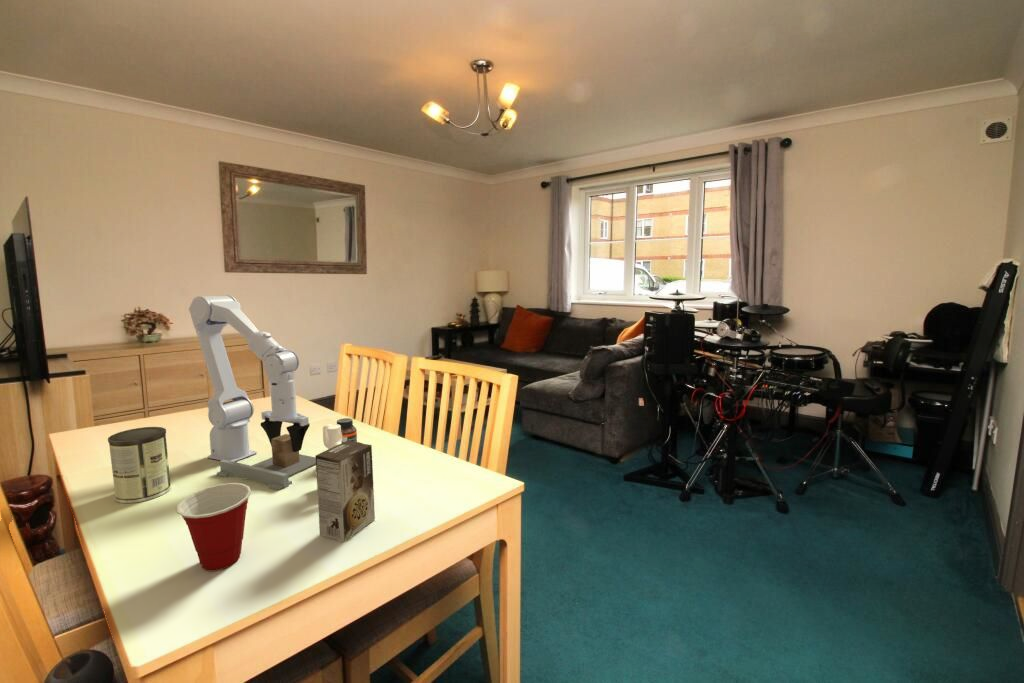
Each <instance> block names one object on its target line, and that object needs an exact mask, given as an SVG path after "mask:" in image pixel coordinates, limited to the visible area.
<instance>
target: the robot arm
mask: <svg viewBox="0 0 1024 683" xmlns="http://www.w3.org/2000/svg"><path fill="white" fill-rule="evenodd" d="M188 311H189V314H190V317H191V320H192V321H191V322H192V324H193V328H194V330H195V333H196V336H197V340H198V343H199V345H200V346H199V347H200V349H201V352H202V356H203V359H204V362H205V365H206V369H207V372H208V376H209V379H210V382H211V386H212V389H213V395H212V396H211V397H210V399H208V401H207V402H206V404H207V407H208V409H207V410H208V411H207V412H208V413H207V415H208V420H209V423H210V424H211V425H212V427H211V429H210V432H209V445H210V448H209V449H210V455H208V456H207V458H208V459H213V460H217V461H222V460H228V461H232V462H237V461H240V460H243V459H246V458H247V457H251V456H254V455H256V454H258V451H256V450H251V449H250V440H249V438H250V436H249V425H248V423H250V422H251V421H250V419H251V418H252V417H253V415H254V413H255V408H254V405H253V403H252V401H251V399H249V396H248V394H247V391H245V390H243V389H241V388H239V387H238V386H237V383H236V380H235V376H234V373H233V369H232V367H231V366H232V365H231V362H230V360H229V357H228V356H229V355H228V354H227V350H226V345H225V343H224V340H223V337H222V331H223V329H224V328H225V327H226V326H228V325H230V326H231V328H233V329H234V330H235V331H237V332H238V333H239V334H240V335H241V336H243V337H244V338H245V339H246V340H247V348H249V350H251V352H253V354H255V355H256V356H257V357H258V359H260V360H261V361H262V362H263V364H262V365H263V366H262V367H263V369H264V372H265V374H266V375H267V381H268V382H269V384H270V402H271V403H270V404H271V410H265V411H262V412H261V420H263V421H261V422H260V426H261V428H262V429H263V430H264V432H265V434H266V436H267V438H268V441H269V443H270V446H271V448H272V443H271V439H273V438H276V437H278V436H281V435H282V432H281V431H282V426H283V423H289V424H292V425H289V426H286V431H287V432H288V434H289V435H290V438H291V443H292V450H293V452H297V451H299V452H300V451H301V450H302V447H303V443H304V439H305V436H306V433H307V431H308V429H309V428H310V423H309V421H310V420H309V416H306V415H303V414H301V413H298V412H297V401H296V399H297V398H296V397H297V396H296V395H297V394H296V382H295V381H296V380H295V377H296V376H295V371H297V370H298V368H299V367H300V366H299V365H300V360H299V357H298V355H297V354H296V352H295V351H294V350H291V349H286V348H285V347H283V346H282V345H280V344H279V342H278V341H276V340H275V339H274V338H273V337H272V334H271V333H270V332H266V331H259V330H258V328H257V327H256V325H254V323H253V322H252V321H251V320H250V319H249V318H248V316H246V314H245V313H244V312H243V311H242V307H241V303H240V302H239V301H237V299H236V298H235V297H234V296H233V295H231V294H230V295H229V294H227V295H214V296H208V295H207V296H203V295H198V296H196V297H195V296H194V298H193V299H192V301H191V303H190V305H189V308H188ZM228 400H229V401H228ZM226 401H227V402H226Z"/></svg>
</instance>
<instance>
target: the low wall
mask: <svg viewBox="0 0 1024 683" xmlns="http://www.w3.org/2000/svg"><path fill="white" fill-rule="evenodd" d="M219 470H220V471H217V472H216V475H217V476H220V477H223V478H226V477H228V476H233V477H237V478H241V479H245V480H249V481H253V482H257V483H262V484H266V485H268V488H269V489H272V490H277V491H280V490H282V489H286V488H287V487H289V486H290V485H293V481H292V480H289V478H288V474H286V473H281V472H277V471H272V470H268V469H263V468H259V467H255V466H252V465H249V464H247V463H240V462H237V461H235V462H232V461H228V460H222V461H221V460H219Z"/></svg>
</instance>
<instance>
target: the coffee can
mask: <svg viewBox="0 0 1024 683" xmlns="http://www.w3.org/2000/svg"><path fill="white" fill-rule="evenodd" d="M107 442H108V444H109V452H110V453H109V454H110V463H111V470H112V478H113V488H114V496H115V498H114V500H115V502H117V503H120V504H133V503H134V504H135V503H142V502H146V501H149V500H154V499H156V498H158V497H161V496H163V495H166V494H167V493H168V492H170V490H171V489H172V484H171V483H172V482H171V474H170V465H169V457H168V455H169V454H168V444H167V429H166V428H165V427H162V426H161V427H160V426H146V427H145V426H144V427H137V428H131V429H127V430H123V431H119V432H116V433H114V434H112V435H110V436H108V438H107Z"/></svg>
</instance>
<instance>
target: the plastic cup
mask: <svg viewBox="0 0 1024 683" xmlns="http://www.w3.org/2000/svg"><path fill="white" fill-rule="evenodd" d="M251 493H252V491H251V487H250V486H249V485H247V484H244V483H241V482H239V483H238V482H227V483H219V484H216V485H213V486H212V485H211V486H209V487H205V488H203V489H200V490H197V491H195V492H193V493H191V494H190V495H188V496H186V497H185V498H183V499H182V500H181V501H180V502H179V503H178V505H176V511H177V512H176V513H177V514H178V515H179V516H181V517H182V519H183V520H184V522H185V524H186V526H187V527H188V531H189V535H190V537H191V541H192V543H193V544H192V545H193V546H194V550H195V552H196V553H197V556H198V560H199V564H200V566H201V568H202V569H203V570H205V571H210V572H212V571H220V570H223V569H226V568H227V569H228V568H229V567H231V566H233V565H234V564H236V563H237V562H238V561H239V559H240V558H241V553H242V547H243V540H244V534H245V525H246V524H245V522H246V515H247V510H248V504H249V499H250V498H249V497H250V496H251Z"/></svg>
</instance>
